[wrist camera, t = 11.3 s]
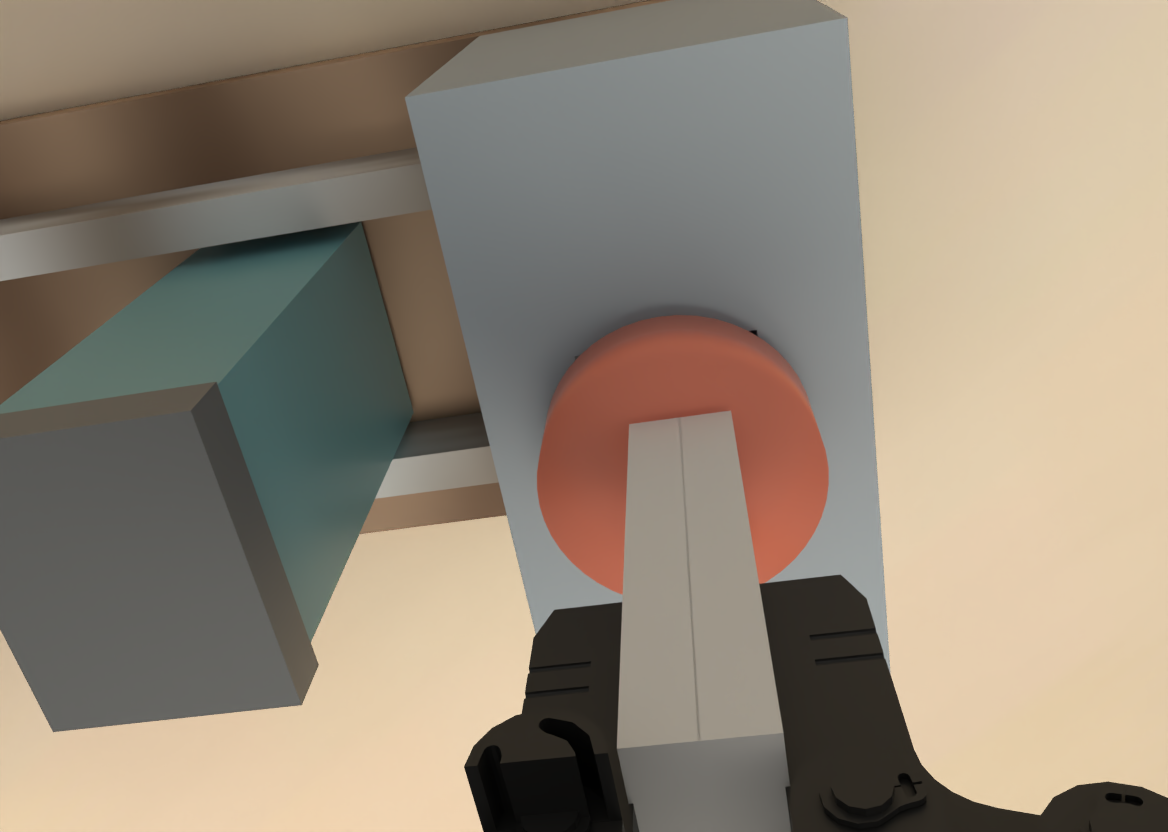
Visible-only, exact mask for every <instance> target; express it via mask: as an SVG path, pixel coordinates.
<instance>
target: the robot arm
mask: <svg viewBox="0 0 1168 832" xmlns="http://www.w3.org/2000/svg"><path fill="white" fill-rule="evenodd" d="M529 671H530V674H528V678H527V684H526V690H525V694H526V699H524V703H523V710H522V714H520V715H516V716H514V717H512V718H510V719H508V720H506V721H504V722H503V723H501V724H499V725H497V726H495V727H493V728H492V729H491V730H490V731H489V732H488V733H487V734H485V735H484V736H483V737H482V738H481V739H480V740H479V741H478V742H477V743H476V744H475V745H474V747H473V749H472V751H471V753H470V755H469V757H468V760H467V762H466V764H465V766H464V768H465V771H466V774H467V778H468V781H469V784H470V788H471V791H472V794H473V798H474V801H475V805H476V808H477V811H478V815H479V818H480V821H481V825H482V828H483V831H484V832H1168V798H1167V797H1164V796H1162V795H1159V794H1157V793H1155V792H1152V791H1150V790H1148V789H1145V788H1143V787H1138V786H1132V785H1125V784H1119V783H1113V782H1102V783H1093V784H1085V785H1077V786H1075V787H1073V788H1071V789H1069V790H1067V791H1065V792H1063V793H1061V794H1059V795H1057V796H1055V797H1054V798H1053V799H1052V800H1051V802H1050V803H1049V805H1048V806H1047V807H1046V809H1045V810H1044V812H1043V813H1042V814H1041V815H1035V814H1029V813H1023V812H1017V811H1011V810H1005V809H1000V808H995V807H991V806H988V805H984V804H980V803H976V802H973V801H971V800H969V799H966V798H964V797H962V796H960V795H958V794H955V793H953V792H952V791H950V790H949V789H947V788H946V787H945V786H943V785H942V784H940V783H939V782H937V781H936V780H935V779H934V778H933V777H932V776H931V775H930V774H929V773H928V772H927V770H926V769H925V768H924V767H923V766H922V765H921V763H920V761H919V759H918V757H917V755H916V753H915V751H914V748H913V745H912V742H911V739H910V735H909V732H908V729H907V726H906V723H905V719H904V716H903V713H902V710H901V707H900V704H899V700H898V697H897V694H896V691H895V688H894V684H893V681H892V678H891V675H890V672H889V668H888V665H887V662H886V659H884V653H883V649H882V646H881V643H880V640H879V637H878V634H877V633H876V627H875V624H874V621H873V618H872V614H871V611H870V608H869V605H868V602H867V598H866V597H865V596H863V595H862V594H861V593H860V592H859V591H858V590H857V589H856V588H855V587H854V586H853V585H852V584H851V583H849V582H848V581H847V580H846V579H845V578H844V577H843V576H842V575H841V574H840V575H832V576H823V577H814V578H805V579H796V580H787V581H779V582H770V583H761V584H759V580H758V574H757V567H756V561H755V555H754V549H753V543H752V537H751V531H750V524H749V518H748V512H747V506H746V500H745V494H744V488H743V481H742V475H741V469H740V463H739V457H738V451H737V445H736V438H735V432H734V426H733V420H732V414H731V411H723V412H716V413H708V414H701V415H694V416H686V417H679V418H671V419H664V420H656V421H649V422H642V423H634V424H629V439H628V466H627V492H626V519H625V545H624V572H623V598H622V602H618V603H610V604H601V605H592V606H583V607H574V608H565V609H556V610H554V611H553V612H552V613H551V615H550V616H549V618H548V619H547V620H546V622H545V623H544V624H543V626H542V627H541V629H540V630H539V631H538V633H537V634H536V635H535V637H534V639H533V646H532V652H531V658H530V665H529Z"/></svg>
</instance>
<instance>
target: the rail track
mask: <svg viewBox="0 0 1168 832" xmlns="http://www.w3.org/2000/svg"><path fill="white" fill-rule="evenodd" d="M665 1H670V0H649V1H643V2H638V3H632V4H627V5H622V6H616V7H611V8H606V9H600V10H595V11H590V12H584V13H579V14H573V15H568V16H563V17H557V18H552V19H547V20H541V21H536V22H530V23H525V24H520V25H514V26H509V27H504V28H498V29H493V30H488V31H482V32H477V33H471V34H466V35H461V36H455V37H450V38H445V39H439V40H434V41H429V42H423V43H418V44H412V45H407V46H402V47H396V48H391V49H386V50H380V51H375V52H370V53H364V54H359V55H353V56H348V57H343V58H337V59H332V60H327V61H321V62H316V63H310V64H305V65H300V66H294V67H289V68H284V69H278V70H273V71H268V72H262V73H257V74H251V75H246V76H241V77H235V78H230V79H225V80H219V81H214V82H209V83H203V84H198V85H192V86H187V87H182V88H176V89H171V90H166V91H160V92H155V93H149V94H144V95H139V96H133V97H128V98H123V99H117V100H112V101H107V102H101V103H96V104H90V105H85V106H80V107H74V108H69V109H64V110H58V111H53V112H48V113H42V114H37V115H31V116H26V117H21V118H15V119H10V120H5V121H0V405H1V404H2V403H3V402H4V401H6V400H7V399H8V398H10V397H11V396H12V395H13V394H15V393H16V392H17V391H19V390H20V389H21V388H22V387H24V386H25V385H26V384H27V383H29V382H30V381H31V380H33V379H34V378H35V377H36V376H38V375H39V374H40V373H42V372H43V371H44V370H45V369H47V368H48V367H49V366H50V365H52V364H53V363H54V362H56V361H57V360H58V359H59V358H61V357H62V356H63V355H65V354H66V353H67V352H68V351H70V350H71V349H72V348H73V347H75V346H76V345H77V344H79V343H80V342H81V341H82V340H84V339H85V338H86V337H87V336H89V335H90V334H91V333H93V332H94V331H95V330H96V329H98V328H99V327H100V326H102V325H103V324H104V323H105V322H107V321H108V320H109V319H110V318H112V317H113V316H114V315H116V314H117V313H118V312H119V311H121V310H122V309H123V308H125V307H126V306H127V305H128V304H130V303H131V302H132V301H133V300H135V299H136V298H137V297H139V296H140V295H141V294H142V293H144V292H145V291H146V290H148V289H149V288H150V287H151V286H153V285H154V284H155V283H156V282H158V281H159V280H160V279H162V278H163V277H164V276H165V275H167V274H168V273H169V272H170V271H172V270H173V269H174V268H176V267H177V266H178V265H179V264H181V263H182V262H183V261H185V260H186V259H187V258H188V257H190V256H191V255H192V254H193V253H195V252H196V251H197V250H199V249H200V248H205V247H211V246H217V245H223V244H229V243H235V242H241V241H247V240H253V239H259V238H265V237H272V236H278V235H284V234H290V233H296V232H302V231H308V230H314V229H320V228H326V227H332V226H338V225H344V224H350V223H356V222H361V223H362V227H363V230H364V234H365V238H366V241H367V245H368V248H369V252H370V256H371V259H372V263H373V267H374V270H375V274H376V278H377V281H378V285H379V288H380V292H381V296H382V299H383V303H384V307H385V310H386V314H387V317H388V321H389V325H390V328H391V332H392V336H393V339H394V343H395V346H396V350H397V354H398V357H399V361H400V365H401V368H402V372H403V376H404V379H405V383H406V386H407V390H408V394H409V397H410V401H411V405H412V408H413V412H414V413H413V415H412V417H411V419H410V422H409V424H408V426H407V428H406V431H405V433H404V435H403V437H402V439H401V442H400V444H399V446H398V448H397V451H396V453H395V455H394V457H393V460H392V462H391V464H390V466H389V469H388V471H387V473H386V475H385V477H384V480H383V482H382V484H381V486H380V489H379V491H378V493H377V495H376V498H375V500H374V502H373V504H372V507H371V509H370V511H369V513H368V515H367V518H366V520H365V522H364V524H363V527H362V529H361V531H360V533H359V534H363V533H371V532H379V531H387V530H394V529H402V528H410V527H418V526H426V525H433V524H441V523H449V522H457V521H465V520H472V519H480V518H488V517H496V516H504V515H507V514H506V510H505V506H504V502H503V498H502V493H501V489H500V485H499V481H498V477H497V473H496V469H495V465H494V461H493V457H492V453H491V448H490V444H489V440H488V436H487V432H486V428H485V424H484V420H483V416H482V412H481V408H480V403H479V399H478V395H477V391H476V387H475V383H474V379H473V375H472V371H471V367H470V363H469V358H468V354H467V350H466V346H465V342H464V338H463V334H462V330H461V326H460V322H459V318H458V313H457V309H456V305H455V301H454V297H453V293H452V289H451V285H450V281H449V277H448V272H447V268H446V264H445V260H444V256H443V252H442V248H441V244H440V240H439V236H438V232H437V227H436V223H435V219H434V215H433V211H432V207H431V203H430V199H429V195H428V191H427V187H426V182H425V178H424V174H423V170H422V166H421V162H420V158H419V154H418V150H417V146H416V142H415V137H414V133H413V129H412V125H411V121H410V117H409V113H408V109H407V105H406V101H405V97H406V96H407V95H408V94H409V93H411V92H412V91H413V90H414V89H416V88H417V87H418V86H419V85H420V84H422V83H423V82H424V81H425V80H426V79H428V78H429V77H430V76H431V75H433V74H434V73H435V72H436V71H437V70H439V69H440V68H441V67H442V66H443V65H445V64H446V63H447V62H448V61H450V60H451V59H452V58H453V57H454V56H456V55H457V54H458V53H459V52H460V51H462V50H463V49H464V48H465V47H467V46H468V45H469V44H470V43H471V42H473V41H474V40H475V39H476V38H478V37H479V36H482V35H487V34H493V33H498V32H503V31H509V30H514V29H519V28H525V27H530V26H536V25H541V24H546V23H552V22H557V21H562V20H568V19H573V18H579V17H584V16H589V15H595V14H600V13H605V12H611V11H616V10H622V9H627V8H632V7H638V6H643V5H649V4H654V3H659V2H665Z"/></svg>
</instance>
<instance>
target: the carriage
mask: <svg viewBox="0 0 1168 832" xmlns="http://www.w3.org/2000/svg"><path fill="white" fill-rule="evenodd" d="M413 413H414V412H413V408H412V405H411V401H410V397H409V394H408V390H407V386H406V383H405V379H404V376H403V372H402V368H401V365H400V361H399V357H398V354H397V350H396V346H395V343H394V339H393V336H392V332H391V328H390V325H389V321H388V317H387V314H386V310H385V307H384V303H383V299H382V296H381V292H380V288H379V285H378V281H377V278H376V274H375V270H374V267H373V263H372V259H371V256H370V252H369V248H368V245H367V241H366V238H365V234H364V230H363V227H362V223H361V222H356V223H350V224H344V225H338V226H332V227H326V228H320V229H314V230H308V231H302V232H296V233H290V234H284V235H278V236H272V237H265V238H259V239H253V240H247V241H241V242H235V243H229V244H223V245H217V246H211V247H205V248H200V249H199V250H197V251H196V252H195V253H193V254H192V255H191V256H190V257H188V258H187V259H186V260H185V261H183V262H182V263H181V264H179V265H178V266H177V267H176V268H174V269H173V270H172V271H170V272H169V273H168V274H167V275H165V276H164V277H163V278H162V279H160V280H159V281H158V282H156V283H155V284H154V285H153V286H151V287H150V288H149V289H148V290H146V291H145V292H144V293H142V294H141V295H140V296H139V297H137V298H136V299H135V300H133V301H132V302H131V303H130V304H128V305H127V306H126V307H125V308H123V309H122V310H121V311H119V312H118V313H117V314H116V315H114V316H113V317H112V318H110V319H109V320H108V321H107V322H105V323H104V324H103V325H102V326H100V327H99V328H98V329H96V330H95V331H94V332H93V333H91V334H90V335H89V336H87V337H86V338H85V339H84V340H82V341H81V342H80V343H79V344H77V345H76V346H75V347H73V348H72V349H71V350H70V351H68V352H67V353H66V354H65V355H63V356H62V357H61V358H59V359H58V360H57V361H56V362H54V363H53V364H52V365H50V366H49V367H48V368H47V369H45V370H44V371H43V372H42V373H40V374H39V375H38V376H36V377H35V378H34V379H33V380H31V381H30V382H29V383H27V384H26V385H25V386H24V387H22V388H21V389H20V390H19V391H17V392H16V393H15V394H13V395H12V396H11V397H10V398H8V399H7V400H6V401H4V402H3V403H2V404H1V405H0V630H1V632H2V634H3V635H4V637H5V639H6V641H7V643H8V645H9V647H10V649H11V651H12V653H13V655H14V657H15V659H16V661H17V663H18V665H19V666H20V668H21V670H22V672H23V674H24V676H25V678H26V680H27V682H28V684H29V686H30V688H31V690H32V692H33V694H34V696H35V698H36V699H37V701H38V703H39V705H40V707H41V709H42V711H43V713H44V715H45V717H46V719H47V721H48V723H49V725H50V727H51V729H52V731H53V732H57V731H66V730H76V729H85V728H94V727H103V726H112V725H122V724H131V723H140V722H149V721H158V720H168V719H177V718H186V717H195V716H205V715H214V714H223V713H232V712H241V711H251V710H260V709H269V708H278V707H288V706H297V705H302V703H303V701H304V698H305V696H306V693H307V691H308V689H309V686H310V684H311V682H312V679H313V677H314V675H315V672H316V670H317V668H318V662H317V659H316V656H315V654H314V651H313V648H312V645H311V641H312V638H313V636H314V634H315V632H316V629H317V627H318V625H319V623H320V621H321V618H322V616H323V614H324V612H325V609H326V607H327V605H328V603H329V600H330V598H331V596H332V594H333V591H334V589H335V587H336V585H337V583H338V580H339V578H340V576H341V574H342V571H343V569H344V567H345V565H346V562H347V560H348V558H349V556H350V553H351V551H352V549H353V547H354V545H355V542H356V540H357V538H358V536H359V533H360V531H361V529H362V527H363V524H364V522H365V520H366V518H367V515H368V513H369V511H370V509H371V507H372V504H373V502H374V500H375V498H376V495H377V493H378V491H379V489H380V486H381V484H382V482H383V480H384V477H385V475H386V473H387V471H388V469H389V466H390V464H391V462H392V460H393V457H394V455H395V453H396V451H397V448H398V446H399V444H400V442H401V439H402V437H403V435H404V433H405V431H406V428H407V426H408V424H409V422H410V419H411V417H412V415H413Z"/></svg>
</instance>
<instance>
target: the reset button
mask: <svg viewBox="0 0 1168 832" xmlns="http://www.w3.org/2000/svg"><path fill="white" fill-rule="evenodd" d="M723 411H731V414H732V420H733V426H734V432H735V438H736V445H737V451H738V457H739V463H740V469H741V475H742V481H743V488H744V494H745V500H746V506H747V512H748V518H749V524H750V531H751V537H752V543H753V549H754V555H755V561H756V567H757V574H758V580H759V584H761V583H765V582H767V581H769V580H770V579H771V578H773V577H774V576H776V575H777V574H778V573H780V572H781V571H782V570H783V569H785V568H786V567H787V566H788V565H789V564H790V563H791V562H792V561H793V560H794V559H795V558H796V557H797V556H798V555H799V554H800V552H801V551H802V550H803V549H804V548H805V546H806V545H807V543H808V542H809V540H810V539H811V537H812V536H813V534H814V532H815V530H816V528H817V526H818V524H819V522H820V520H821V517H822V514H823V511H824V507H825V504H826V500H827V493H828V486H829V467H828V461H827V455H826V450H825V447H824V444H823V441H822V438H821V435H820V432H819V429H818V426H817V423H816V420H815V417H814V414H813V411H812V408H811V405H810V402H809V399H808V396H807V393H806V391H805V389H804V387H803V385H802V383H801V381H800V379H799V377H798V375H797V374H796V373H795V371H794V370H793V368H792V367H791V366H790V364H789V363H788V362H787V361H786V360H785V359H784V358H783V357H782V355H781V354H780V353H779V352H778V351H777V350H775V349H774V348H773V347H772V346H770V345H769V344H768V343H767V342H765V341H764V340H763V339H761V338H759V337H758V336H756V335H754V334H753V333H751V332H749V331H748V330H745V329H743V328H741V327H738V326H736V325H734V324H731V323H728V322H724V321H721V320H718V319H714V318H708V317H701V316H692V315H672V316H660V317H655V318H650V319H645V320H641V321H638V322H635V323H632V324H629V325H626V326H623V327H621V328H619V329H617V330H615V331H613V332H611V333H609V334H607V335H606V336H604V337H603V338H601V339H600V340H598V341H597V342H595V343H594V344H592V345H591V346H590V347H589V348H588V349H587V350H585V351H584V352H583V353H582V354H581V355H580V356H579V357H578V358H577V359H576V360H575V361H574V362H573V364H572V365H571V366H570V367H569V368H568V370H567V371H566V373H565V374H564V376H563V377H562V379H561V380H560V382H559V384H558V386H557V388H556V390H555V392H554V394H553V396H552V399H551V402H550V406H549V409H548V412H547V418H546V423H545V429H544V434H543V439H542V445H541V450H540V456H539V462H538V469H537V492H538V499H539V505H540V509H541V512H542V515H543V518H544V521H545V523H546V526H547V528H548V530H549V532H550V534H551V536H552V537H553V539H554V541H555V542H556V544H557V545H558V547H559V548H560V550H561V551H562V552H563V553H564V554H565V555H566V557H567V558H568V559H569V560H570V561H571V562H572V563H573V564H574V565H575V566H576V567H577V568H579V569H580V570H581V571H582V572H583V573H584V574H586V575H587V576H589V577H590V578H591V579H593V580H594V581H596V582H597V583H599V584H601V585H603V586H605V587H606V588H608V589H610V590H612V591H614V592H617V593H619V594H622V595H623V572H624V545H625V519H626V492H627V466H628V439H629V424H634V423H642V422H649V421H656V420H664V419H671V418H679V417H686V416H694V415H701V414H708V413H716V412H723Z"/></svg>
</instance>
